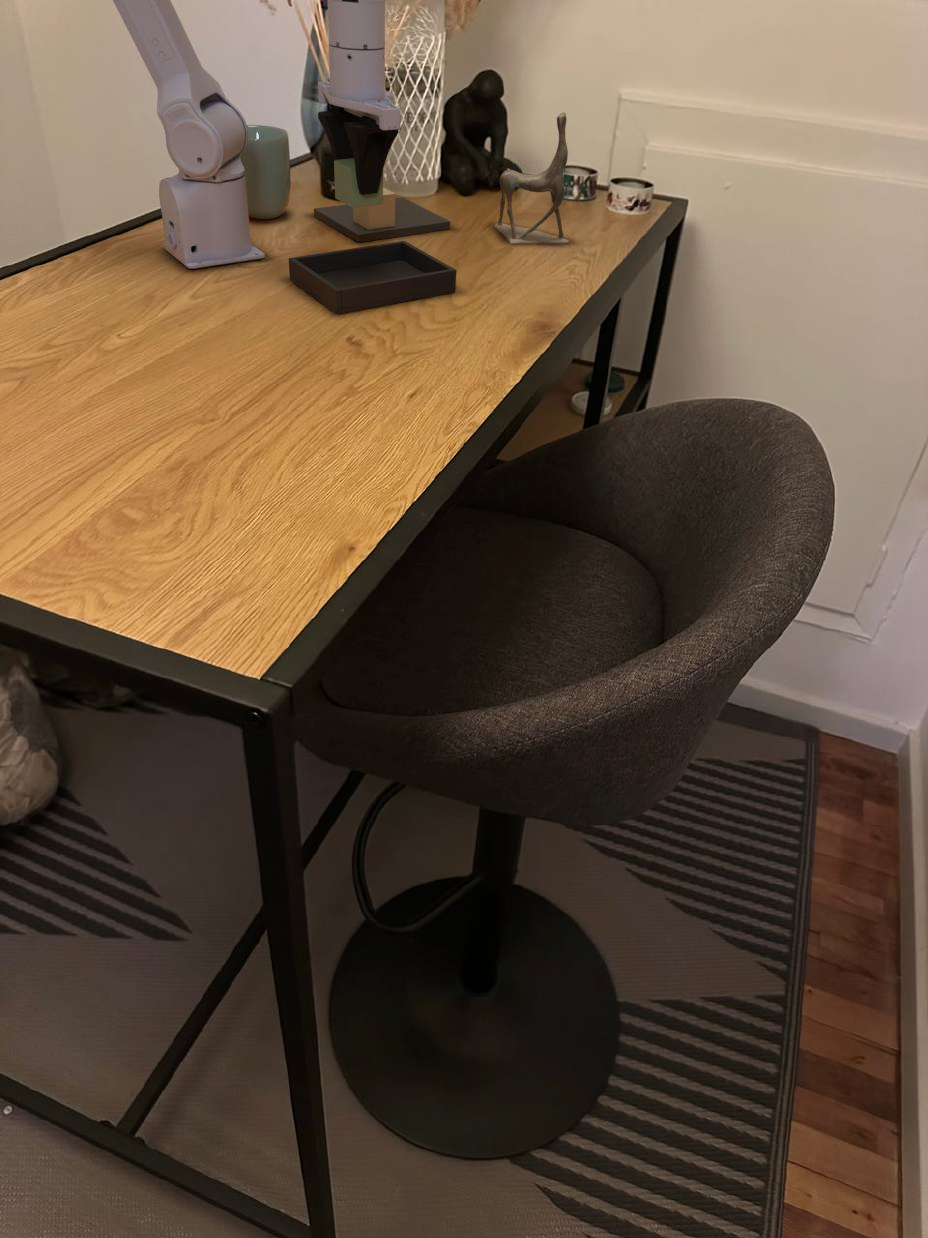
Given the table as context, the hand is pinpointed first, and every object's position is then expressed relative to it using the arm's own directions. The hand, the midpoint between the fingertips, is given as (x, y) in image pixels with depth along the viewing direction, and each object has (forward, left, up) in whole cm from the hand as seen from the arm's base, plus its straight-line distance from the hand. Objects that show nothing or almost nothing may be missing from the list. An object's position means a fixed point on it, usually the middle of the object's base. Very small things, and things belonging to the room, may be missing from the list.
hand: (358, 187), depth 101 cm
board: (+11, +14, -9) cm, 20 cm away
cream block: (+9, +11, -8) cm, 16 cm away
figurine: (+25, +1, -9) cm, 27 cm away
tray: (-2, -6, -9) cm, 11 cm away
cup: (-2, +23, -9) cm, 25 cm away
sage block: (0, 0, -1) cm, 1 cm away
